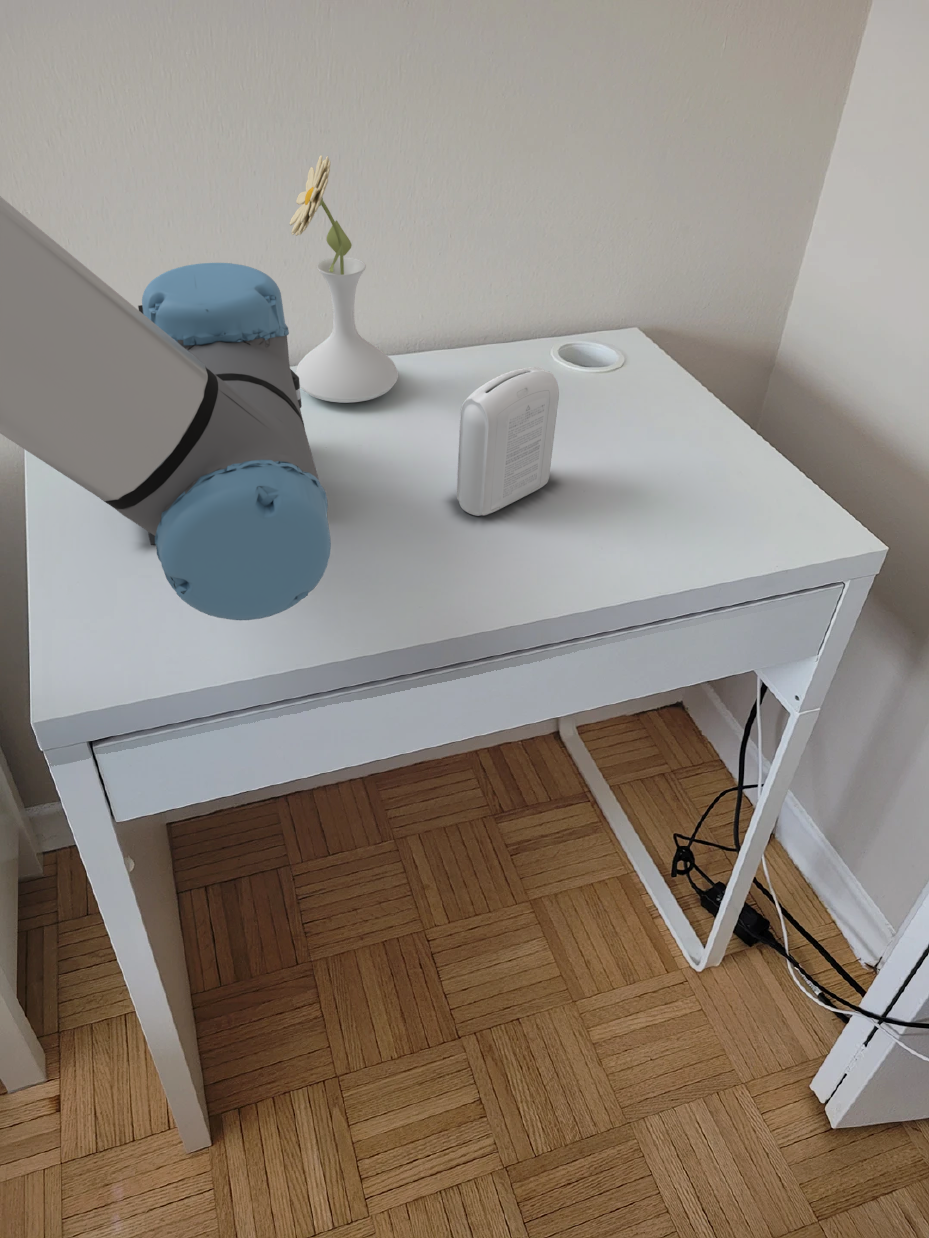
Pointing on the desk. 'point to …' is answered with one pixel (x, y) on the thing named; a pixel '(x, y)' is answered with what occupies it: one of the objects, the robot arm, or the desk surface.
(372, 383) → the flower in vase
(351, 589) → the desk surface
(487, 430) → the photo printer
